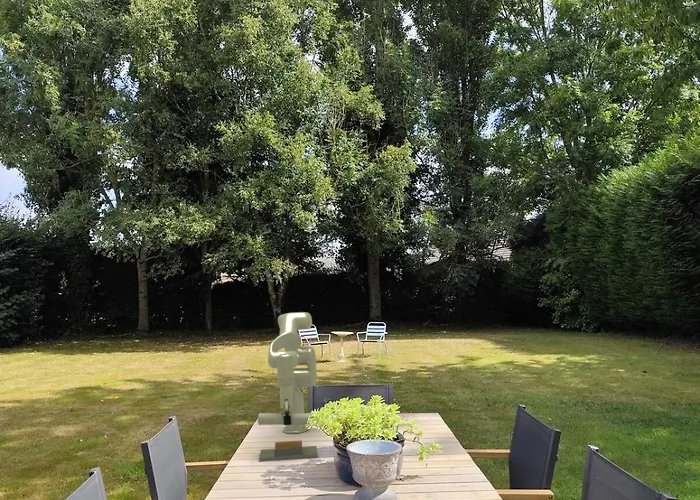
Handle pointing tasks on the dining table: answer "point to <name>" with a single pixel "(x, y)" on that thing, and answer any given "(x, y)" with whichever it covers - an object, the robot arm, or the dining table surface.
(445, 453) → the dining table surface
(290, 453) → the galvanized metal plate
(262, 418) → the tube
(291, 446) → the bar
